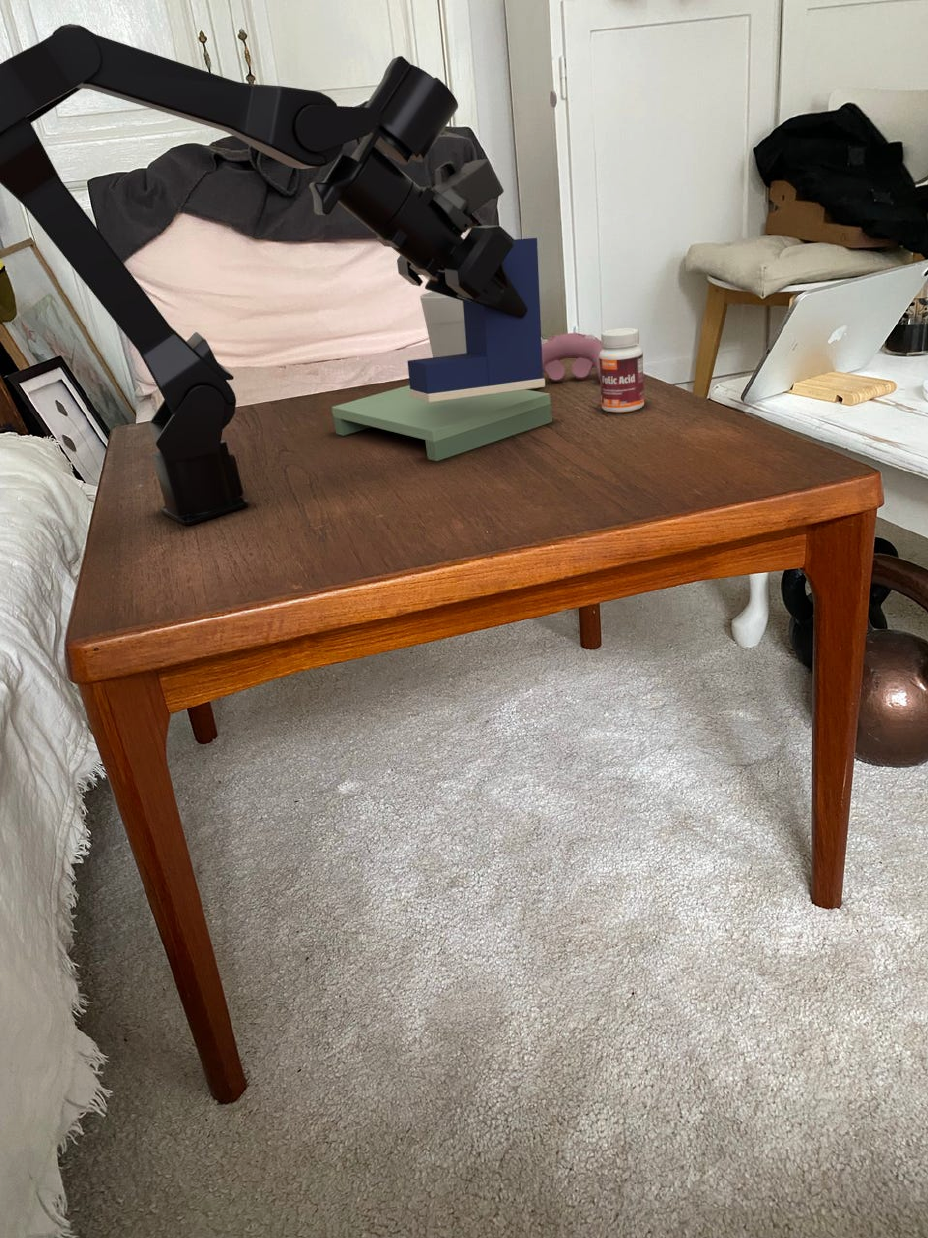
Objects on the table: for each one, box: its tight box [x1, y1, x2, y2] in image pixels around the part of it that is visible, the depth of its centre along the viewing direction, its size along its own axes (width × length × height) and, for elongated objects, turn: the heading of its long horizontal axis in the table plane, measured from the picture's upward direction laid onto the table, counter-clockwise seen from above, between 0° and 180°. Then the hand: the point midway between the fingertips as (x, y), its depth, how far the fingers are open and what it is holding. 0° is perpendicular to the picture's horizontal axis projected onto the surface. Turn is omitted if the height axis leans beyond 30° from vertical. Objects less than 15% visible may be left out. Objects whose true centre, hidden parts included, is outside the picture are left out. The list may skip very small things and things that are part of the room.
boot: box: [407, 237, 546, 403], centre depth 93 cm, size 13×6×14 cm, turn 113°
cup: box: [419, 291, 467, 358], centre depth 123 cm, size 8×8×12 cm
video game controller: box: [533, 332, 604, 390], centre depth 120 cm, size 10×5×7 cm, turn 84°
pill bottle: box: [599, 327, 645, 414], centre depth 105 cm, size 5×5×8 cm
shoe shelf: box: [331, 384, 553, 462], centre depth 107 cm, size 16×20×3 cm
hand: (513, 310), depth 95 cm, fingers closed on boot, 5 cm apart
